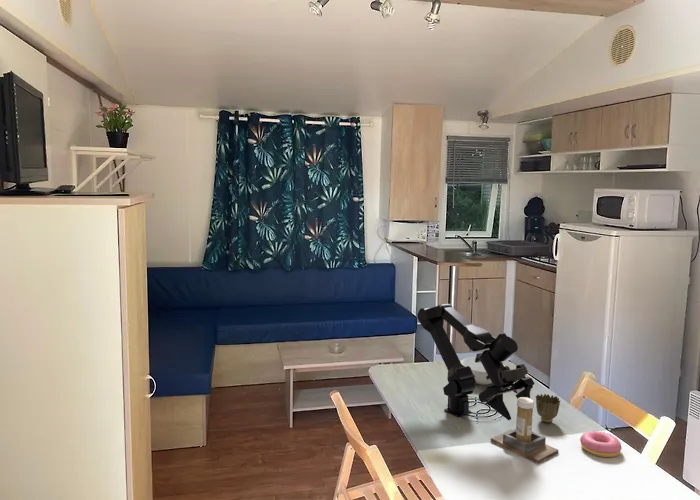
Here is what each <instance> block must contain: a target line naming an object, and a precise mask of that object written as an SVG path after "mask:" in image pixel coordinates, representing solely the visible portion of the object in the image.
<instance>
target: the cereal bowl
mask: <svg viewBox="0 0 700 500" xmlns="http://www.w3.org/2000/svg"><path fill="white" fill-rule="evenodd" d="M475 359H476V357H475V356H473V357H472V356H471V357H466V358H463V359H461V360H460V362H461V364H462V365H463V366H465V367H466V366H469V367H470V368H471V370H472V373H473V374H474V375H475V377H474V378H475V380H476V384H477V385H482V386H485V385H486V386H487V385H491V384H492V382H491V380H490V379H489V380H487V379H486V376H488V374H487V372H486V371H485V369H484V367H483V365H482V363H481V362H477V363H476V362H475ZM503 365H504V366H505V364H504V363H503Z"/></svg>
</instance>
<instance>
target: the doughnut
mask: <svg viewBox="0 0 700 500" xmlns="http://www.w3.org/2000/svg"><path fill="white" fill-rule="evenodd" d="M579 441H580V445H581V447H582V449H584V450H585V451H586V452H588V453H589V454H591V455H594V456H597V457H601V458H614V457H617V456H618V455H619V454H620V453H621V450H622V449H623V447H622V444H621V441H620V440H619V438H617V437H616V436H614V435H612V434H610V433H606V432H604V431H603V432H602V431H599V430H598V431H596V430H591V431H587V432H584V433H583V434H582V435H581V436H580V439H579Z"/></svg>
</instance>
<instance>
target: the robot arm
mask: <svg viewBox="0 0 700 500" xmlns="http://www.w3.org/2000/svg"><path fill="white" fill-rule="evenodd" d="M417 320H418V322H419V324H420V325H421V327H422V329H424V330H426V331H427V332H428V333H429V334H430V336H431V337H432V340H433V342H434V344H435V346H436V348H437V350H438V352H439V354H440V356H441V358H442V361H443V362H444V363H443V364H444V365H445V367H446V369H447V379H446V380H447V382H448V383H447V384H445V386H443V388H442V390H443V394H444V395H445V396H446V397H447V407H446V408H444V412H446V413H449V414H451V415H452V416H455V417H458V418H460V417H463V416H465V415H467V414H470V413H472V412H471V410H470V408H469V407H470V401H469V395H472V394H474V390H475V389H476V380H475V378H474V377H475V375H474V374H473V373H472V370H471V368H470V367H469V366H466V367H465V366H463V365H462V364H461V359H460V358H459V356H458V354H457V352H456V350H455V348H454V347H453V344H452V342H451V340H450V338H449V336H448V334H447V332H446V330H445V327H444V323H445V322H447V323H448V325H450V326H451V327H452V328H453V329H455V330H456V331H457V332H458V333H459V335H461V336H462V337H463V342H464V344H465V345H466V346H467V347H468V348H469V350H471V352H478V353H476V355H475V356H476V359H475V362H476V363H477V362H481V363H482V365H483V367H484V369H485V371H486V372H487V374H488V376H486V379H487V380H489V379H490V380H491V382H492V383H491V384H492V385H490V386H486V387H485V388H483V390H481V391H479V393H478V400H479V402H480V403H481V404H485V406H489V407H490V408H492V409H493V410H494V411H496V412H497V413H499V414H500V415H501V416H502V417H504V418H505V419H506V420H507V421H511V420H512V416H511V414H510V412H509V410H508V408H507V406H506V403H505V402H504V394H507V393H511V392H513V393H515V397H516V399H518V398H520V397H527V398H530V399H531V390H532V389H533V387H534V385H536V384H535V382H534V379H532V377H530V376H526V375H528V373H529V372H528V368H527V367H526V365H525V364H524V363H522V364H517V365H515V368H514V369H511V368H510V366H508V365H506V366H504V365H505V364H504V363H503V362H505V361H507V359H509V358H510V357H511V356H513V355H514V354H515V353H517V352H518V349H519V346H518V343H517V342H516V340H514V339H513V338H512V337H510V336H507V334H506V333H505V332H504V333H503V332H502V333H499V334H498V335H497V336H496V337H495V336H493V335H492V333H490V331H487V330H486V329H484V328H482V327H479V326H477V325H474V324H472V322H470V321H469V320H467V319H466V317H464V316H463V315H462V314H460V313H459V312H458V311H457V310H456V309H455V308H454V307H453V306H452V304H450V303H443V304H438V305H436V306H431V307H422V308H420V309H419V310H418V312H417ZM444 321H445V322H444ZM479 351H482V352H480V353H479ZM503 364H504V365H503ZM533 413H534V410H533V411H532V414H533Z"/></svg>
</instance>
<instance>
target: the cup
mask: <svg viewBox="0 0 700 500" xmlns="http://www.w3.org/2000/svg"><path fill="white" fill-rule="evenodd" d="M560 404H561V400H560V398H559V397H558V396H554V395H553V394H552V395H551V396H550V395H549V394H546V393H544V394H542V393H541V394H536V395H535V405H536V406H535V407H536V413H537V415H539V416H540V420H541V422H542V423H545V424H552V423H553V420H554V418H556V417H557V416H558V414H559V409H560Z"/></svg>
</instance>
